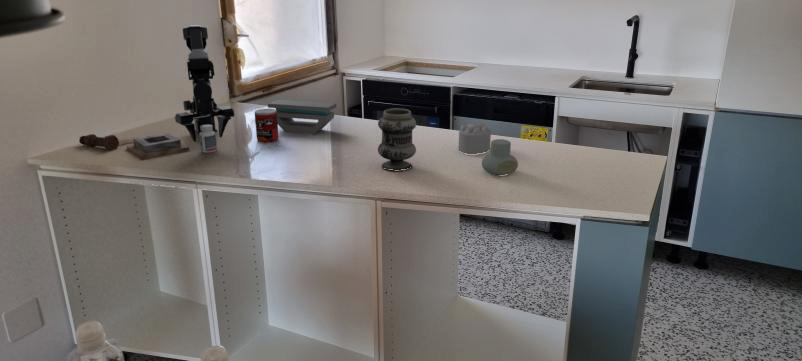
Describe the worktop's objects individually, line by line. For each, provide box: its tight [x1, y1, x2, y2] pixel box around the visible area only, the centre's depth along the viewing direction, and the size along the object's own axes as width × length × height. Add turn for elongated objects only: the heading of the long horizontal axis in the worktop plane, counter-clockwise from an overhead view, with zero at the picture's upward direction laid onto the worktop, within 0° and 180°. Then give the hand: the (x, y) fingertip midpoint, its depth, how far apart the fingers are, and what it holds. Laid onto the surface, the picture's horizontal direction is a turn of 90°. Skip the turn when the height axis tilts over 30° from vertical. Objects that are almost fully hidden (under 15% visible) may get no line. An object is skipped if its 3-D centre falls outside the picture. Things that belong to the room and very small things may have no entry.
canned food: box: [254, 108, 279, 144], centre depth 217 cm, size 8×8×11 cm
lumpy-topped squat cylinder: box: [458, 122, 492, 154], centre depth 205 cm, size 10×13×9 cm
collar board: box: [126, 132, 190, 160], centre depth 208 cm, size 16×16×4 cm
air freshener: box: [481, 138, 519, 176], centre depth 182 cm, size 11×8×10 cm
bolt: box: [78, 133, 120, 151], centre depth 211 cm, size 6×5×15 cm
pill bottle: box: [198, 125, 218, 154], centre depth 205 cm, size 5×5×9 cm
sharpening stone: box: [267, 99, 337, 136], centre depth 230 cm, size 25×8×11 cm, turn 73°
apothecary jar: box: [377, 107, 417, 170], centre depth 186 cm, size 12×12×18 cm
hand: (207, 139), depth 205 cm, fingers open, 9 cm apart
